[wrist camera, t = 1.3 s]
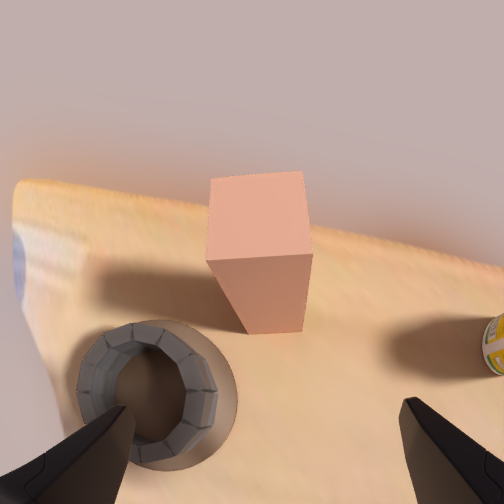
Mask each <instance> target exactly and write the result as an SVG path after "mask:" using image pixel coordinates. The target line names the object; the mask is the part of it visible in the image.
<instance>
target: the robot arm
mask: <svg viewBox="0 0 504 504" xmlns="http://www.w3.org/2000/svg"><path fill="white" fill-rule="evenodd" d="M399 425H400V430H401V436H402V441H403V447H404V453H405V459H406V463H407V466H408V470H409V473H410V477H411V480H412V484H413V487H414V491H415V495H416V498H417V502H418V504H504V462H503V461H502V460H500V459H499V458H497V457H496V456H494V455H493V454H492V453H490V452H489V451H486V449H485V448H484V447H482V446H481V445H479V444H478V443H477V442H476V441H474V440H473V439H472V438H470V437H469V436H468V435H466V434H465V433H464V432H462V431H461V430H460V429H458V428H457V427H456V426H454V425H453V424H452V423H450V422H449V421H448V420H446V419H445V418H444V417H442V416H441V415H440V414H438V413H437V412H436V411H435V410H433V409H432V408H431V407H429V406H428V405H427V404H425V403H424V402H423V401H421V400H420V399H419V398H417V397H410V398H406V399H404V401H403V403H402V407H401V410H400V414H399ZM135 427H136V423H135V420H134V417H133V415H132V413H131V411H130V409H129V407H128V406H127V405H121V404H116V405H114V406H113V407H111V408H110V409H108V410H107V411H106V412H104V413H103V414H101V415H100V416H98V417H97V418H96V419H94V420H93V421H91V422H90V423H88V424H87V425H85V426H84V427H82V428H81V429H79V430H78V431H77V432H75V433H74V434H72V435H71V436H69V437H68V438H66V439H65V440H63V441H62V442H60V443H59V444H57V445H56V446H54V447H53V448H51V449H49V450H48V451H46V453H43V454H42V455H40V456H39V457H37V458H35V459H34V460H32V461H30V462H29V463H27V464H25V465H23V466H21V467H20V468H18V469H16V470H13V471H11V472H9V473H8V474H5V475H3V476H1V477H0V504H114V503H115V500H116V497H117V494H118V491H119V488H120V485H121V482H122V479H123V476H124V473H125V470H126V467H127V463H128V460H129V455H130V451H131V446H132V441H133V437H134V432H135Z"/></svg>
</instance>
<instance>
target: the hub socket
mask: <svg viewBox="0 0 504 504" xmlns="http://www.w3.org/2000/svg"><path fill="white" fill-rule="evenodd" d="M84 359H85V360H86V361H83V360H82V364H81V369H80V373H79V378H78V384H77V389H76V390H77V391H79V393H76V394H77V398H78V402H79V406H80V410H81V413H82V417H83V421H84V424H88V423H90V422H91V421H93V420H94V419H96V418H97V417H98V416H100V415H101V414H103V413H104V412H106V411H107V410H108V409H110V408H111V407H113V406H114V405H116V404H121V405H127V406H128V407H129V409H130V411H131V413H132V415H133V417H134V420H135V423H136V427H135V432H134V437H133V441H132V446H131V451H130V455H129V461H131V462H133V463H134V464H136V465H139V466H141V467H144V468H147V469H151V470H157V471H177V470H183V469H186V468H189V467H192V466H194V465H196V464H198V463H200V462H202V461H204V460H205V459H207V458H208V457H210V456H211V455H213V454H214V453H215V452H216V451H217V450H218V449H219V448H220V447H221V445H222V444H223V443H224V442H225V440H226V439H227V437H228V435H229V433H230V432H231V429H232V427H233V424H234V421H235V417H236V412H237V402H238V401H237V388H236V383H235V379H234V376H233V373H232V370H231V368H230V366H229V364H228V362H227V360H226V359H225V357H224V356H223V354H222V353H221V352H220V350H219V349H218V348H217V347H216V346H215V345H214V344H213V343H212V342H211V341H210V340H209V339H208V338H206V337H205V336H204V335H202V334H201V333H200V332H198V331H197V330H195V329H193V328H191V327H189V326H187V325H184V324H182V323H179V322H174V321H170V320H149V321H144V322H140V323H133V324H132V323H129V324H126V325H124V326H121V327H119V328H116V329H113V330H111V331H108V332H106V333H104V336H103V335H101V336H100V338H99V339H98V340H97V341H96V343H95V344H94V345H93V346H92V348H91V349H90V350H89V351H88V353H87V354H86V355H85V356H84Z"/></svg>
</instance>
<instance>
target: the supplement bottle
mask: <svg viewBox="0 0 504 504" xmlns="http://www.w3.org/2000/svg"><path fill="white" fill-rule="evenodd" d="M482 350H483V356H484V359H485V361H486V363H487V365H488V366H489V368H490V369H491V370H492V371H493V372H495V373H496V374H498V375H504V313H503V314H501V315H499V316H497V317H496V318H494V319H493V320H492V321H491V322H490V323H489V324H488V326H487V328H486V330H485V332H484V336H483V341H482Z"/></svg>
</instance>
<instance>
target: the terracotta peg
mask: <svg viewBox="0 0 504 504" xmlns="http://www.w3.org/2000/svg"><path fill="white" fill-rule="evenodd" d="M312 257H313V250H312V241H311V233H310V225H309V217H308V209H307V202H306V194H305V187H304V180H303V173H302V171H295V172H282V173H281V172H280V173H266V174H255V175H243V176H232V177H222V178H213V179H211V189H210V202H209V216H208V231H207V248H206V262H207V263H208V265H209V267H210V269H211V271H212V272H213V274H214V276H215V278H216V279H217V281H218V283H219V285H220V286H221V288H222V290H223V292H224V293H225V295H226V297H227V298H228V300H229V302H230V304H231V305H232V307H233V309H234V310H235V312H236V314H237V316H238V317H239V319H240V321H241V322H242V324H243V326H244V327H245V329H246V331H247V332H248V334H269V333H288V332H302V328H303V322H304V315H305V309H306V302H307V295H308V287H309V280H310V272H311V265H312Z"/></svg>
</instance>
